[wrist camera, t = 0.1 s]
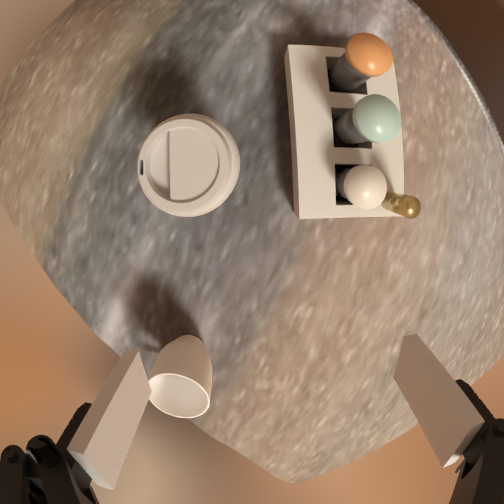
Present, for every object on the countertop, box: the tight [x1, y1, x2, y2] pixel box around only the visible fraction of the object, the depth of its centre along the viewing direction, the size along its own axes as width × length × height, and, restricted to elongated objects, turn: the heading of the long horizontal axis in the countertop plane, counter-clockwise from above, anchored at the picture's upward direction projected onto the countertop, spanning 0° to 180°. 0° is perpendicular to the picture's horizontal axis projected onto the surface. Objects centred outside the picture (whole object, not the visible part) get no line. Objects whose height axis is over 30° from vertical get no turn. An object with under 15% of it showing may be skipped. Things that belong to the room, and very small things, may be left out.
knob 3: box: [335, 165, 387, 209], centre depth 33 cm, size 5×5×9 cm
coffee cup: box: [137, 114, 240, 217], centre depth 30 cm, size 10×10×15 cm
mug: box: [148, 335, 212, 418], centre depth 40 cm, size 12×9×12 cm
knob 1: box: [329, 33, 393, 91], centre depth 25 cm, size 5×5×9 cm
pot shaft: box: [381, 191, 421, 219], centre depth 30 cm, size 2×2×6 cm
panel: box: [284, 45, 404, 219], centre depth 33 cm, size 22×14×5 cm, turn 3°
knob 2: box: [334, 94, 401, 144], centre depth 27 cm, size 5×5×9 cm
